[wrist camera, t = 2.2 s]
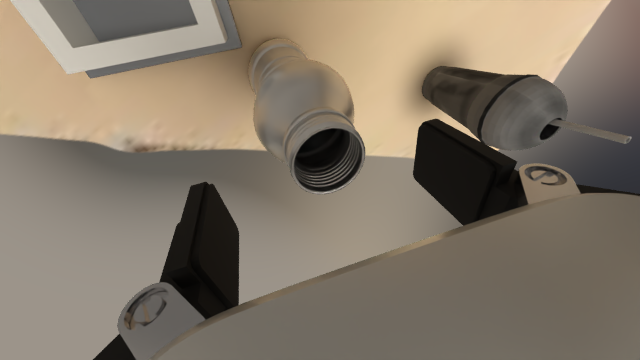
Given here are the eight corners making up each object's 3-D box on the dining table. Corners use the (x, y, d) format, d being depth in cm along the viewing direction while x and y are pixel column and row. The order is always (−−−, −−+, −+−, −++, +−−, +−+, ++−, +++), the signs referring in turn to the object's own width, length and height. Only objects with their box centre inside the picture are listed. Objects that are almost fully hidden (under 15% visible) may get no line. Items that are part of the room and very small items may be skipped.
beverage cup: (408, 113, 34) (548, 203, 18) (418, 58, 29) (612, 115, 14) (452, 105, 35) (618, 183, 20) (467, 51, 31) (698, 96, 15)
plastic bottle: (244, 94, 27) (247, 216, 11) (251, 26, 23) (269, 66, 8) (298, 105, 29) (362, 218, 14) (312, 45, 26) (420, 104, 10)
